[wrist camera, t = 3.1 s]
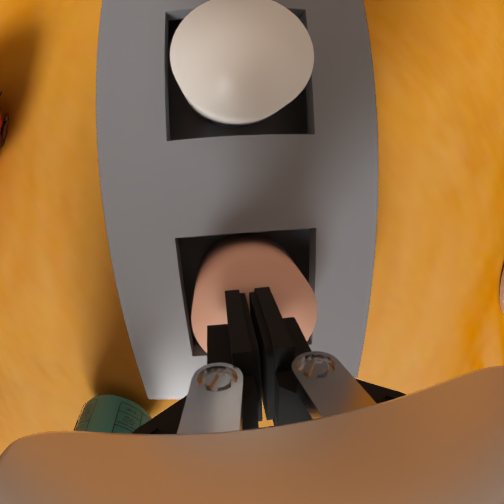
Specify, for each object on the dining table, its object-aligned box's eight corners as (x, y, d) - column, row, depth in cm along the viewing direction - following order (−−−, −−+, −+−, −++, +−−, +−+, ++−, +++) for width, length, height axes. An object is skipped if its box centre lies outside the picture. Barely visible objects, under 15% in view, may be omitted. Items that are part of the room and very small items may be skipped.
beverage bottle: (75, 384, 21) (5, 585, 2) (140, 374, 21) (97, 626, 3) (111, 432, 23) (77, 612, 4) (172, 426, 24) (165, 633, 5)
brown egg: (294, 229, 15) (319, 254, 11) (293, 318, 17) (313, 361, 13) (191, 236, 15) (183, 265, 11) (202, 326, 16) (200, 373, 12)
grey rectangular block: (321, 14, 15) (357, -27, 9) (326, 326, 22) (357, 377, 16) (133, 20, 14) (106, -23, 8) (161, 341, 21) (148, 399, 15)
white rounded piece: (285, 32, 12) (307, -2, 8) (291, 126, 14) (318, 117, 10) (181, 35, 12) (170, -2, 8) (183, 131, 13) (171, 122, 9)
